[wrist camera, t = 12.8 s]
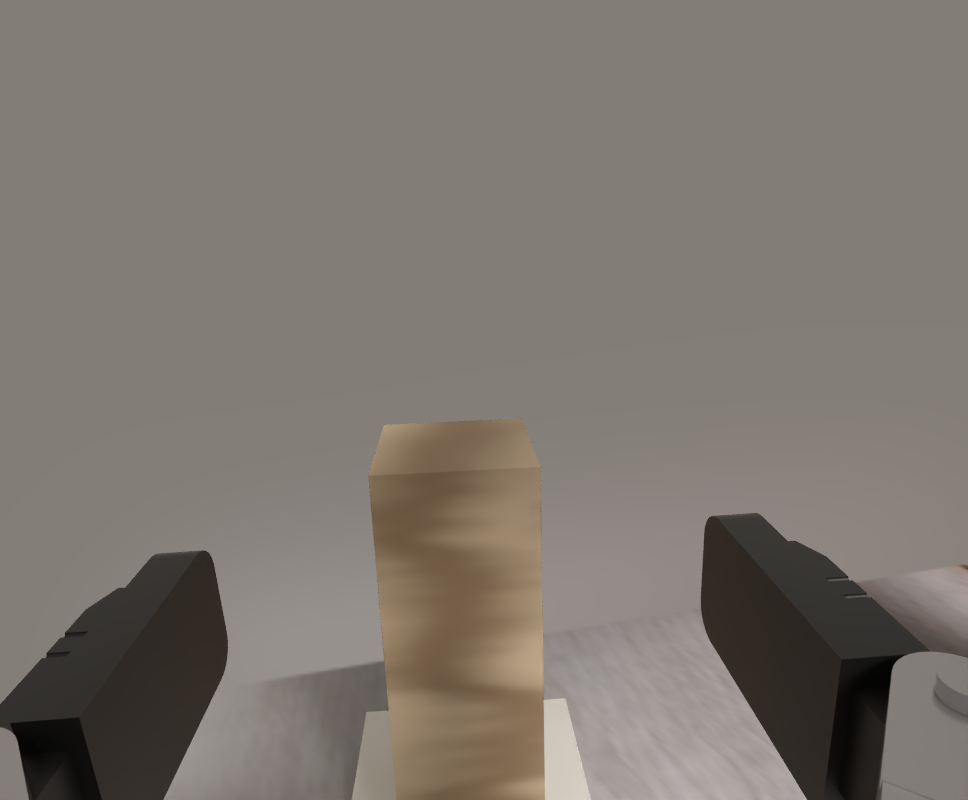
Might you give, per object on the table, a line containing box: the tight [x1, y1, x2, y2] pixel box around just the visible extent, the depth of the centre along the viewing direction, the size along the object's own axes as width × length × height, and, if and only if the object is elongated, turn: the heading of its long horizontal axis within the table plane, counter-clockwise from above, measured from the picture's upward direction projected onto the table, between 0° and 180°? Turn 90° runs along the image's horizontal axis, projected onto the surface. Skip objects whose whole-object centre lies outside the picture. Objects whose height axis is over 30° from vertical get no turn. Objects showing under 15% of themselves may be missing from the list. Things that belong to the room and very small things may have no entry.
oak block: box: [368, 418, 545, 800], centre depth 23 cm, size 5×5×14 cm
